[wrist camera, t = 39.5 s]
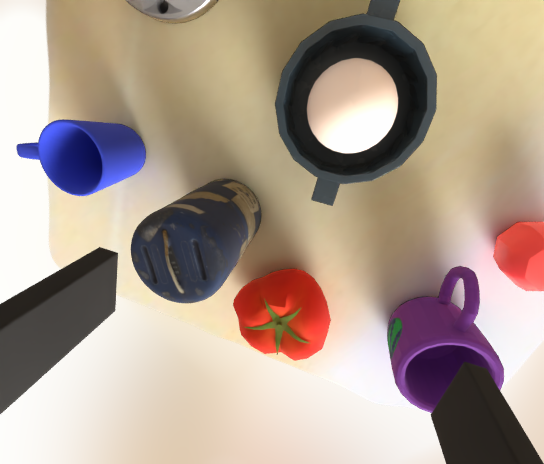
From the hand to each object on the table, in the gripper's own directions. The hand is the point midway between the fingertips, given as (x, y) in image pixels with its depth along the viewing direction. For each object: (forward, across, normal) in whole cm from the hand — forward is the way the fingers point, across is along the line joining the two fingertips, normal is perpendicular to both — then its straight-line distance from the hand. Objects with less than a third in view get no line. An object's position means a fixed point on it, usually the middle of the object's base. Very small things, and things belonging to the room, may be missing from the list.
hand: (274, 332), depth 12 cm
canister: (+31, -10, -8) cm, 33 cm away
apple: (+31, +26, -1) cm, 40 cm away
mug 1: (+31, -28, -4) cm, 42 cm away
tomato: (+31, +1, -18) cm, 36 cm away
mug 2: (+31, +20, -13) cm, 39 cm away
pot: (+31, +1, +9) cm, 32 cm away
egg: (+30, +1, +9) cm, 32 cm away
